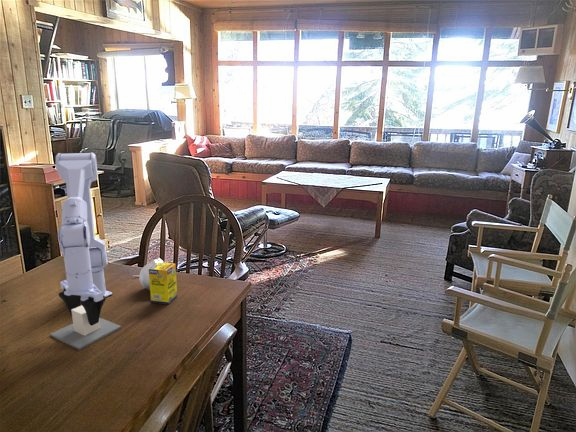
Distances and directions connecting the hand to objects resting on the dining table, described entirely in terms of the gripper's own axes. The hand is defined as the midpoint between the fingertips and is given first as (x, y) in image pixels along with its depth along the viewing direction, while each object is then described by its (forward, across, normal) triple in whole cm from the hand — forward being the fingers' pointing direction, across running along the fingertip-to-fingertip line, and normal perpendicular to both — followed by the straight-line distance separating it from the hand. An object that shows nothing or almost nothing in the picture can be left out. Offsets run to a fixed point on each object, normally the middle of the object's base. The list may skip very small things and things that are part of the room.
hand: (84, 319), depth 108 cm
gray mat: (+3, 0, 0) cm, 3 cm away
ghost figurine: (+4, -5, +28) cm, 29 cm away
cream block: (+3, 0, 0) cm, 3 cm away
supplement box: (+4, +3, +24) cm, 24 cm away
